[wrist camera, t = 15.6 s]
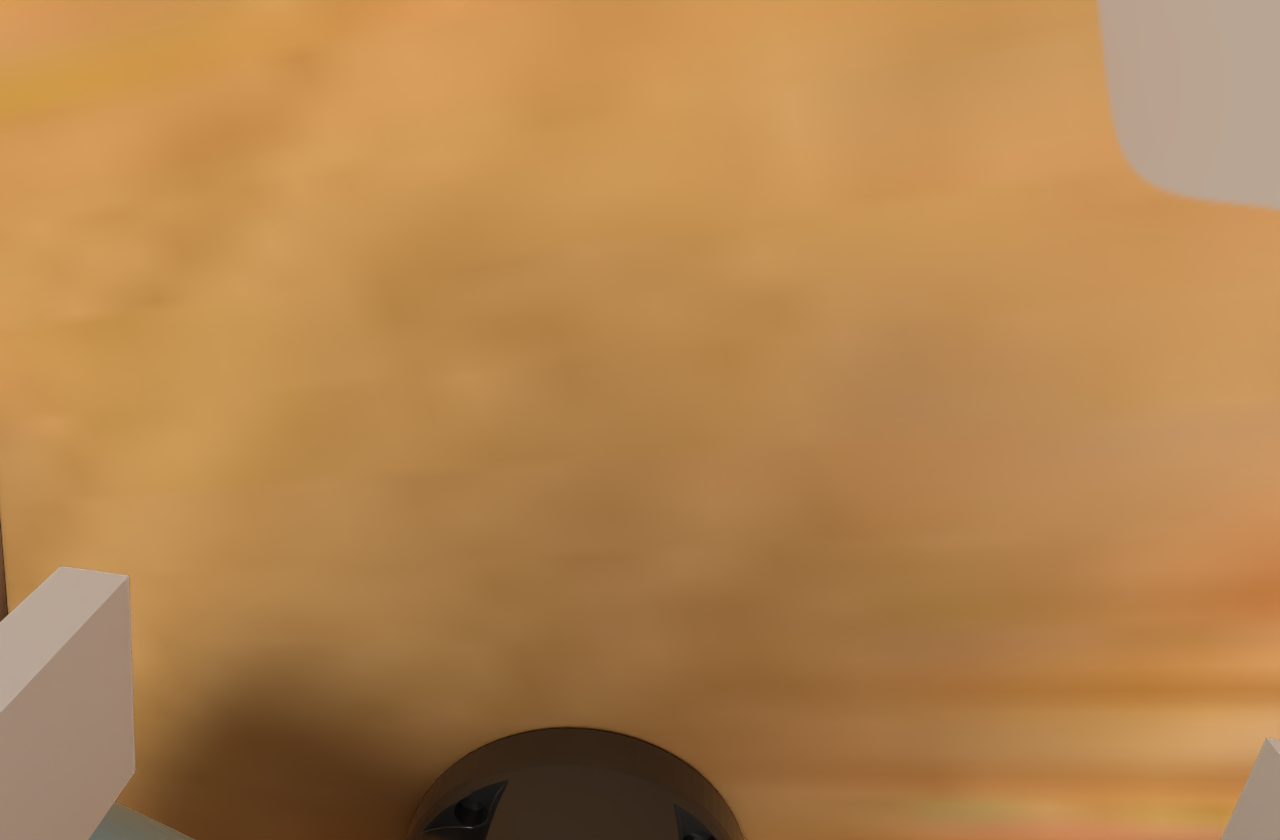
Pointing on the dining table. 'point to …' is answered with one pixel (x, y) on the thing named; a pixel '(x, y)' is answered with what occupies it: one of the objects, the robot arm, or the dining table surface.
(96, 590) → the robot arm
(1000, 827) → the dining table surface
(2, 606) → the board
